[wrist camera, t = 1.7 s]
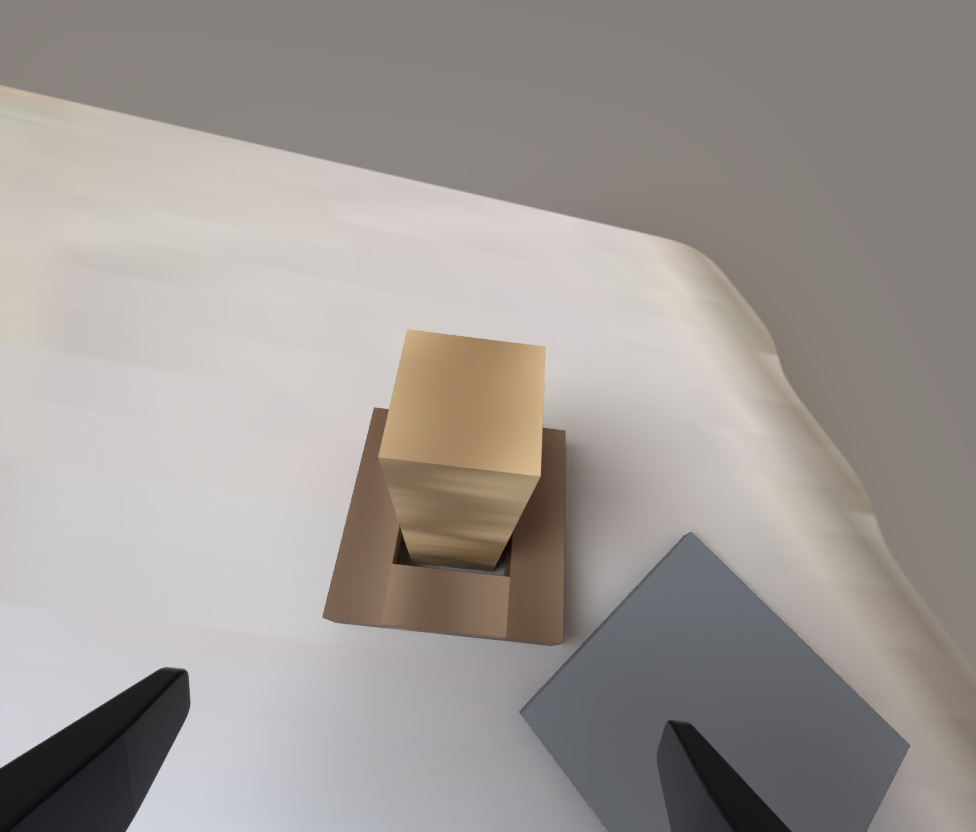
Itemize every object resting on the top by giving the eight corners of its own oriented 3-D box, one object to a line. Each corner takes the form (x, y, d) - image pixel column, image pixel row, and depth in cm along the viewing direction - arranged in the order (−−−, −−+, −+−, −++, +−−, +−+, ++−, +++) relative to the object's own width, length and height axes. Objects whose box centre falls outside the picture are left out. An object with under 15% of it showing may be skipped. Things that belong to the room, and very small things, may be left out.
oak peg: (498, 494, 25) (545, 346, 13) (492, 571, 23) (540, 476, 11) (424, 485, 24) (407, 329, 13) (411, 562, 23) (377, 457, 11)
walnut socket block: (555, 450, 26) (565, 430, 24) (550, 645, 21) (563, 643, 19) (379, 429, 26) (374, 407, 24) (335, 622, 21) (322, 617, 19)
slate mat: (894, 742, 21) (910, 745, 20) (748, 1017, 16) (762, 1033, 15) (683, 535, 24) (691, 531, 24) (519, 711, 20) (521, 713, 19)
